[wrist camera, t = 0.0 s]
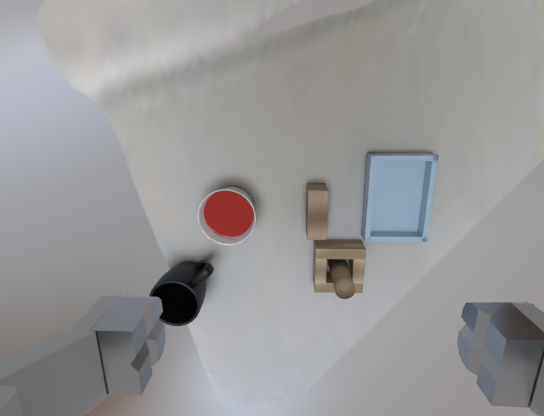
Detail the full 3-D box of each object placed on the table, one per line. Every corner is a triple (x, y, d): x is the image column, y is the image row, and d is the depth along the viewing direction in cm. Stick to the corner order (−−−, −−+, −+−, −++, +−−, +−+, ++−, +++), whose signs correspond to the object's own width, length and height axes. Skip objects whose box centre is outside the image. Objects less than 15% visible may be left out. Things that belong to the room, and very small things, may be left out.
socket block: (314, 239, 60) (316, 248, 56) (360, 239, 60) (365, 249, 56) (313, 280, 62) (314, 292, 59) (357, 281, 62) (362, 292, 58)
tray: (366, 152, 55) (371, 155, 52) (430, 152, 55) (438, 155, 52) (361, 234, 59) (364, 241, 57) (420, 234, 59) (427, 241, 56)
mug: (236, 264, 62) (227, 292, 53) (191, 302, 65) (175, 335, 56) (204, 232, 61) (189, 256, 52) (159, 272, 63) (137, 301, 54)
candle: (263, 226, 60) (260, 240, 54) (213, 233, 61) (204, 248, 55) (254, 176, 57) (249, 185, 51) (201, 184, 58) (191, 194, 52)
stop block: (306, 183, 57) (308, 190, 52) (325, 183, 57) (328, 190, 52) (305, 228, 60) (307, 239, 55) (323, 228, 59) (326, 239, 55)
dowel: (328, 252, 61) (335, 280, 51) (345, 252, 61) (355, 281, 51) (327, 268, 62) (334, 298, 52) (344, 268, 61) (354, 299, 52)
